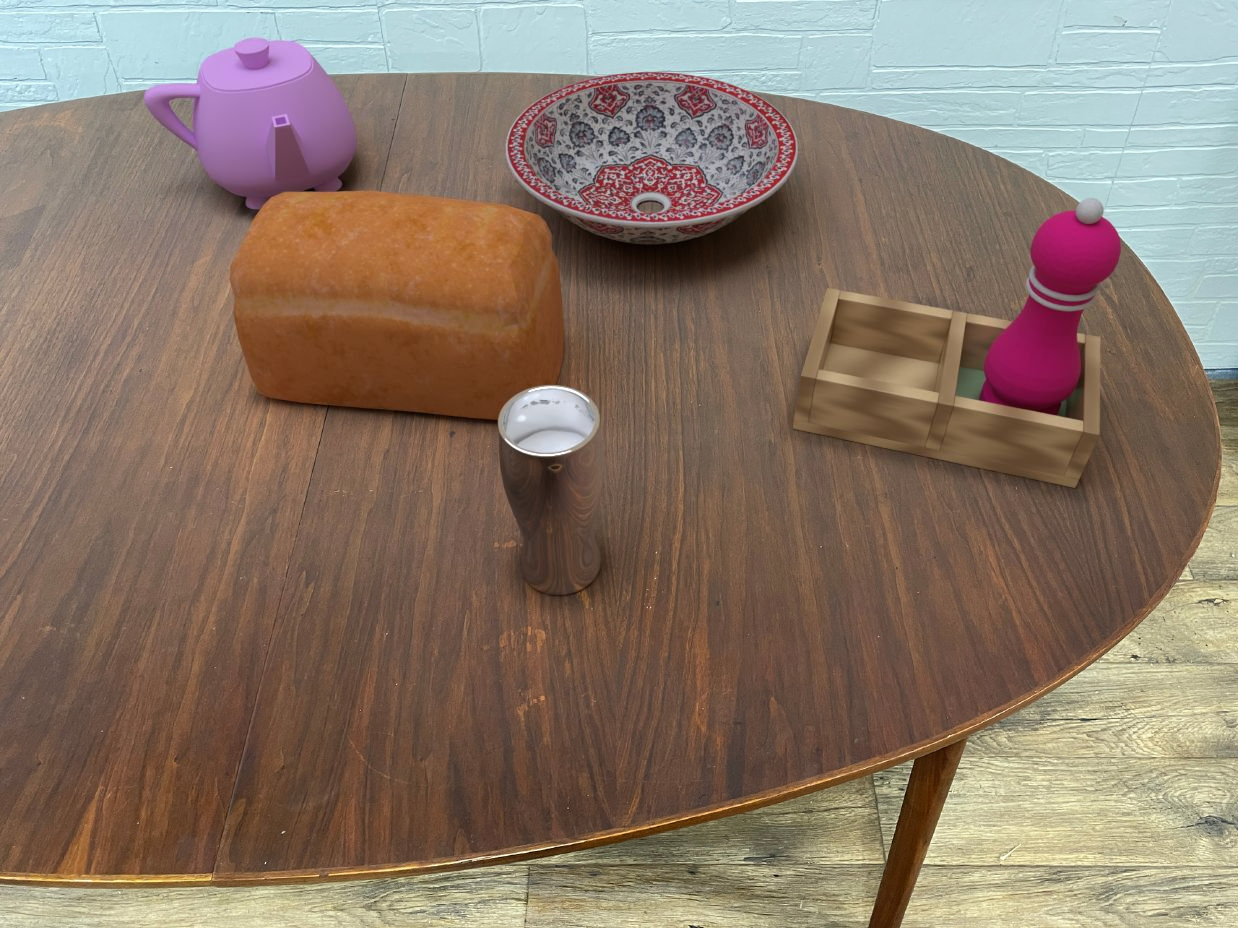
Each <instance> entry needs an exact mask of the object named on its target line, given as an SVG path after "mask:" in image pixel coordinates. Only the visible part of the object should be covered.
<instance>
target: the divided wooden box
mask: <svg viewBox="0 0 1238 928" xmlns="http://www.w3.org/2000/svg"><path fill="white" fill-rule="evenodd" d="M1013 321H1014V320H1008V319H1003V318H997V317H991V316H987V315H986V316H985V315H979V314H976V313H975V314H974V313H969V312H964V311H957V310H952V309H946V308H942V307H937V306H936V307H935V306H930V305H924V304H919V303H913V302H908V301H903V300H896V299H891V298H885V297H880V296H874V295H868V294H863V293H857V292H853V291H847V290H841V289H836V288H830V287H827V288H826V290H825V293H824V297H823V300H822V303H821V306H820V310H819V313H818V318H817V320H816V323H815V327H814V330H813V334H812V337H811V340H810V343H809V346H808V350H807V354H806V356H805V360H804V364H803V367H802V369H801V373H800V379H799V385H798V391H797V396H796V397H797V398H796V403H795V411H794V416H793V424H792V429H793V430H798V431H802V432H806V433H811V434H816V435H821V436H826V437H830V438H834V439H838V440H839V439H840V440H845V441H850V442H855V443H859V444H863V445H867V446H874V447H877V448H883V449H887V450H893V451H897V452H902V453H907V454H911V455H916V456H921V457H926V458H931V459H934V460H940V461H945V462H948V463H949V462H950V463H955V464H959V465H963V466H968V467H973V468H979V469H982V470H987V471H991V472H992V471H993V472H997V473H1002V474H1005V475H1006V474H1007V475H1011V476H1016V477H1021V478H1026V479H1031V480H1036V481H1040V482H1044V483H1048V484H1049V483H1050V484H1055V485H1059V486H1062V487H1063V486H1064V487H1069V488H1072V489H1076V487H1077V486H1078V483H1079V482H1080V479H1081V477H1082V474H1083V472H1084V470H1085V468H1086V466H1087V464H1088V461H1089V459H1090V457H1091V456H1092V453H1093V450H1094V448H1095V446H1096V444H1097V442H1098V440H1099V438H1100V435H1101V336H1097V335H1092V334H1085V333H1080V332H1077V340H1078V347H1079V352H1080V357H1081V370H1080V376H1079V379H1078V383H1077V386H1076V388H1075V390H1074V391H1073V393H1072V394H1071V395H1070V396H1069V397H1068V398H1067V399H1066V400H1064V401H1062V402H1061V407H1060V410H1059V412H1058V414H1057V416H1055V415H1050V414H1045V413H1040V412H1035V411H1030V410H1025V409H1020V408H1015V407H1009V406H1004V405H999V404H994V403H989V402H984V401H979V396H980V393H981V390H982V387H983V384H984V382H985V380H986V377H985V374H984V361H985V358H986V356H987V353H988V351H989V349H990V347H991V345H992V344H993V342H994V341H995V340H996V338H997V337H998V336H999V335H1000V334H1001V333H1002V332H1003V331H1004V330H1005V329H1006V328H1007V327H1008V326H1009V325H1010V324H1011V323H1012V322H1013Z"/></svg>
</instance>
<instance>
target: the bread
mask: <svg viewBox="0 0 1238 928" xmlns="http://www.w3.org/2000/svg"><path fill="white" fill-rule="evenodd" d="M552 244H553V235H552V232H551V230H550V228H549V226H548V224H547V222H546V220H544V218H542V216H541V215H539V214H537V213H533V212H529V211H527V210H523V209H520V208H517V207H514V206H510V205H507V204H501V203H492V202H484V201H476V200H466V199H459V198H449V197H441V196H432V195H421V194H408V193H397V192H388V191H379V190H344V191H334V192H317V191H300V192H283V193H280V194H278V195H276V196H273V197H271V198H270V199H269V200H268V201H267V202H266V203H265V204H264V205H263V206H262V208H261V209H259V211H258V212H257V214H255V216H254V218H253V220H252V221H251V224H250V225H249V228H248V230H247V232H246V234H245V236H244V238H243V240H242V242H241V244H240V246H239V248H238V250H237V251H236V254H235V256H234V258H233V260H232V261H231V263H230V266H229V267H230V269H229V283H230V287H231V291H232V294H233V297H234V298H233V311H232V314H233V319H234V325H235V329H236V335H237V338H238V342H239V346H240V349H241V351H242V354H243V358H244V361H245V363H246V366H247V370H248V372H249V376H250V378H251V380H252V382H253V383H254V385H255V388H256V389H257V391H258V393H259V395H262V396H264V397H266V398H267V399H268V398H269V399H276V400H282V401H289V402H297V403H303V404H311V405H312V404H314V405H325V406H326V405H327V406H338V407H349V408H359V409H375V410H388V411H398V412H399V411H401V412H414V413H424V414H433V415H439V416H440V415H441V416H448V417H449V416H450V417H456V418H457V417H458V418H468V419H480V420H490V421H491V420H492V421H498V417H499V414H500V411H501V409H502V408H503V406H504V405H505V404H506V403H507V402H508V401H509V400H510V399H511V398H512V397H513V396H515V395H516V394H518V393H520V392H522V391H524V390H527V389H529V388H533V387H537V386H543V385H557V383H558V379H559V377H560V373H561V368H562V365H563V361H564V348H565V347H564V346H565V322H564V310H563V296H562V285H561V275H560V267H559V260H558V257H557V255H556V254H555V252H554V250H553V249H552V246H553V245H552Z"/></svg>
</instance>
